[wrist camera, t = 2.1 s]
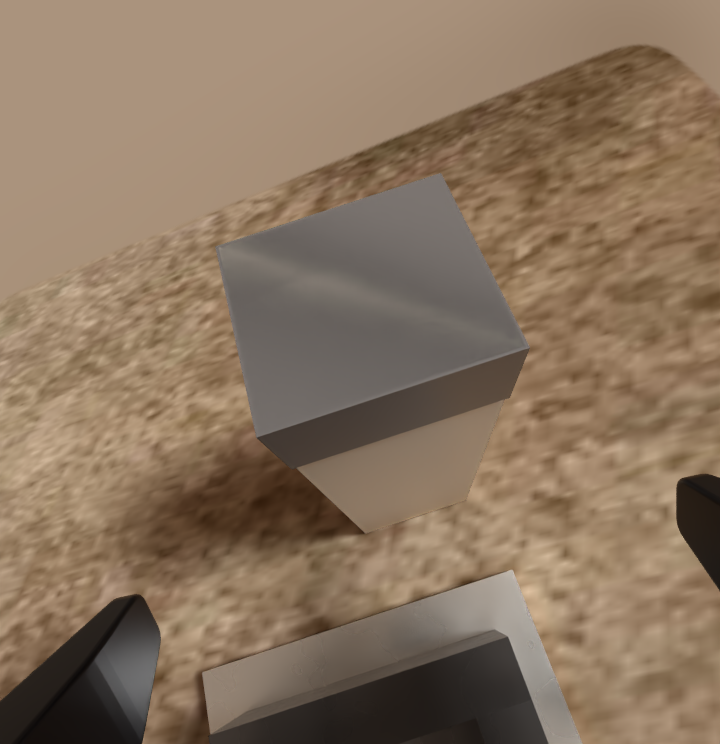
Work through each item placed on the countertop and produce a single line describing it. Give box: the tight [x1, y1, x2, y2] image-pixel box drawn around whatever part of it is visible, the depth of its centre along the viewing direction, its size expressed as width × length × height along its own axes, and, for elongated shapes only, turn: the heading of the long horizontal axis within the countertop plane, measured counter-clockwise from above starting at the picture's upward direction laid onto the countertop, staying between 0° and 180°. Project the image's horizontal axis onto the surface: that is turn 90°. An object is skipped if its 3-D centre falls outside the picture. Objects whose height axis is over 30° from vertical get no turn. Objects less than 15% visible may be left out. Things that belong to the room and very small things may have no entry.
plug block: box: [216, 173, 530, 533], centre depth 14 cm, size 4×4×13 cm
